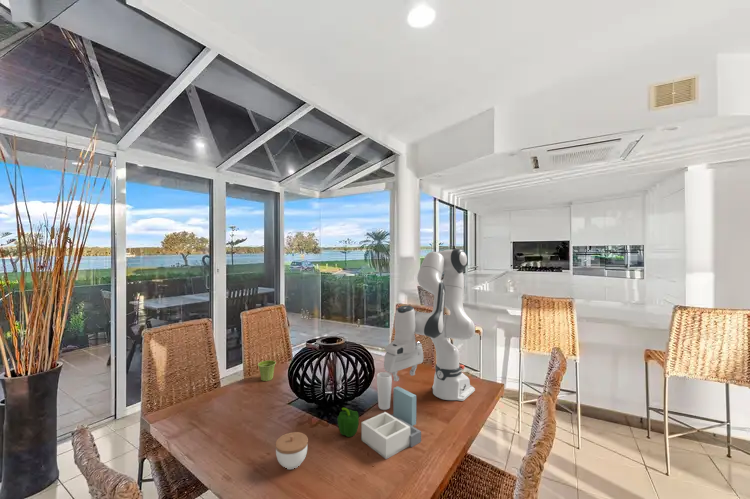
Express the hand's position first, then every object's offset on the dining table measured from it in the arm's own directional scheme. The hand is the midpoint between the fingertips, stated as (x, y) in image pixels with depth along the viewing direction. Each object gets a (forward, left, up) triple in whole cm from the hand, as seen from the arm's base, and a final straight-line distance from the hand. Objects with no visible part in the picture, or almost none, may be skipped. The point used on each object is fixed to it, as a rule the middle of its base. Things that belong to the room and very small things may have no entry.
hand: (404, 377), depth 139 cm
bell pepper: (+24, -7, -18) cm, 31 cm away
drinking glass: (0, -13, -18) cm, 22 cm away
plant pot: (+29, -77, -18) cm, 84 cm away
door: (0, 0, -18) cm, 18 cm away
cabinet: (+14, +7, -18) cm, 24 cm away
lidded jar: (+49, -5, -18) cm, 52 cm away
